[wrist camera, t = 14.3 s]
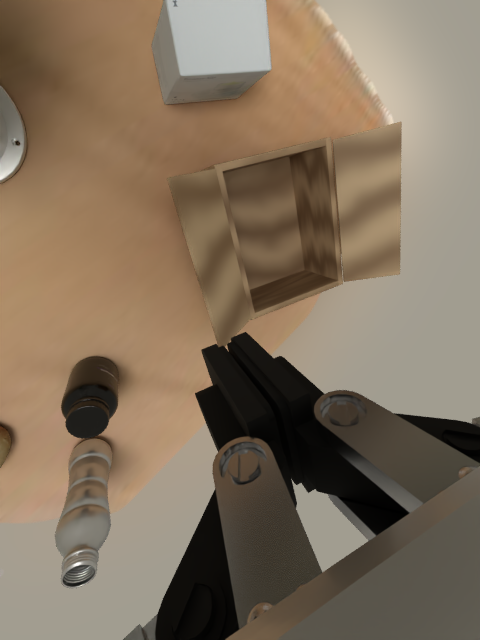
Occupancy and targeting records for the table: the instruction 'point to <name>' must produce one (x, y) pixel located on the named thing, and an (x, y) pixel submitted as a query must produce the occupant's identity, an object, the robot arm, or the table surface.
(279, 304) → the carton
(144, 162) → the table surface
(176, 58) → the skincare box
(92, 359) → the supplement bottle
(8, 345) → the table surface
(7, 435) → the bread roll
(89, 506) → the plastic bottle
